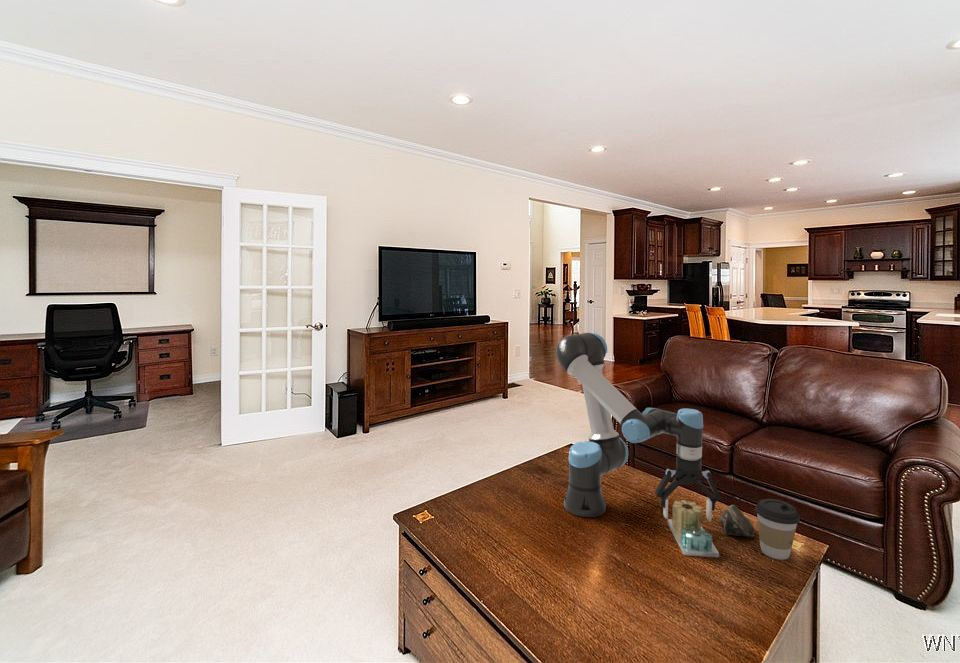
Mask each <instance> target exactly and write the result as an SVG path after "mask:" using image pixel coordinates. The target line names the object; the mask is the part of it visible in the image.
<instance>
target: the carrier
mask: <svg viewBox="0 0 960 663" xmlns="http://www.w3.org/2000/svg"><path fill="white" fill-rule="evenodd" d="M666 522H667V525H668V526H669V529H670V531H671V532H672V534H673V537H674V539H675V541H676V543H677V545H678V547H679V549H680V551H681V552H682V554H683V556H690V557H691V556H693V557H703V558H704V557H706V558H707V557H708V558H717V559H718V558H720V553H719V551H718V549H717V547H716V546H715V544H714V543H713V535H712V533H707V531H706V529H704V528H703V526H702V525H701V529H697V528H695V527H694V526H690V528H685V527H683V528H682V532H680V531H678V529H677V528H676V527H673V525H672V518H671V519H669V518H668V519H667V521H666Z"/></svg>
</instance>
